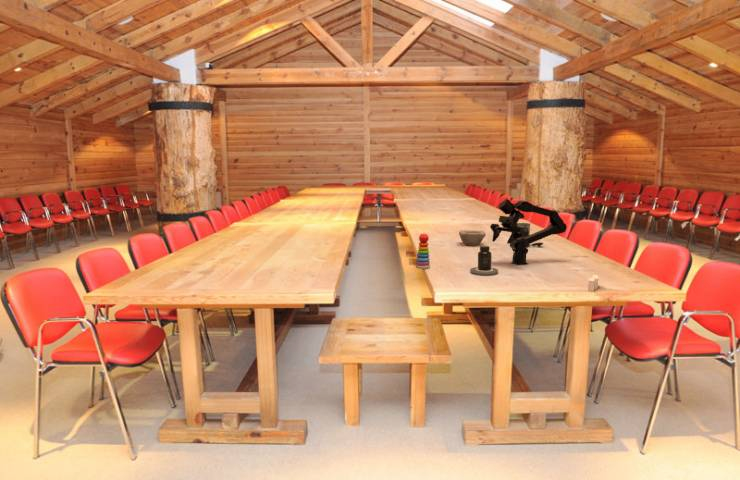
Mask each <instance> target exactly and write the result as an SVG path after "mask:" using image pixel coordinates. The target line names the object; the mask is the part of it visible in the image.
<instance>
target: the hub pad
mask: <svg viewBox="0 0 740 480" xmlns="http://www.w3.org/2000/svg"><path fill="white" fill-rule="evenodd" d="M469 272H470V273H471V275H476V276H481V277H490V276H497V275H498V274H499V270H498V269H497V268H494V267H491V270H487V271H483V270H479V269H478V266H477V267H476V266H475V267H471V268H470V270H469Z"/></svg>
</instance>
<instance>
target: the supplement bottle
mask: <svg viewBox="0 0 740 480" xmlns="http://www.w3.org/2000/svg"><path fill="white" fill-rule="evenodd" d="M477 267H478V269H479V270H483V271H487V270H491V268H492V252H491V249H490V245H480V246H479V251H478V252H477Z"/></svg>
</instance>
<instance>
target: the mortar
mask: <svg viewBox="0 0 740 480" xmlns="http://www.w3.org/2000/svg"><path fill="white" fill-rule="evenodd" d="M458 233H459V237H460V240H461V241H462V243H463V245H464V246H468V247H478V246H479V245H481V243H482V242H483V240H484V238H485V237H486V235H487V233H486V231H483V230H472V229H471V230H470V229H469V230H459V231H458Z"/></svg>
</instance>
